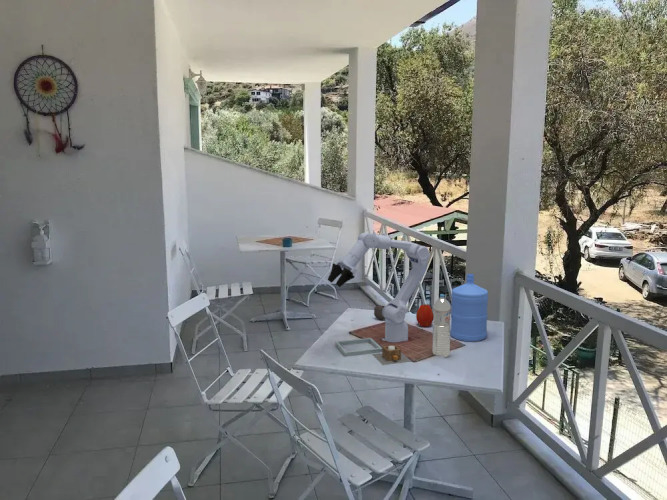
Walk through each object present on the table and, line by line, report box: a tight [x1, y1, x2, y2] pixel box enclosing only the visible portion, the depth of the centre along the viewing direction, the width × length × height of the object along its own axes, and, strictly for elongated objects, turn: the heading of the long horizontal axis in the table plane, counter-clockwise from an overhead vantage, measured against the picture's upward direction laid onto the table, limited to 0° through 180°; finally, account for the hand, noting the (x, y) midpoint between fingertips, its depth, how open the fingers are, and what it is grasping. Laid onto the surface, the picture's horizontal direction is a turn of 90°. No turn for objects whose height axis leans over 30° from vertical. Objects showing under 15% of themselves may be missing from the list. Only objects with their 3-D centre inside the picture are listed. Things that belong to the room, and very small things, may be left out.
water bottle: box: [432, 293, 452, 358], centre depth 214 cm, size 7×7×25 cm
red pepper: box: [415, 303, 434, 328], centre depth 254 cm, size 8×8×11 cm
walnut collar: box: [381, 344, 402, 361], centre depth 210 cm, size 6×8×4 cm
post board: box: [371, 345, 413, 366], centre depth 211 cm, size 12×12×6 cm
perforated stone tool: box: [373, 304, 386, 321], centre depth 263 cm, size 15×5×7 cm, turn 59°
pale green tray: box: [334, 337, 382, 358], centre depth 222 cm, size 16×14×2 cm
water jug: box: [450, 273, 489, 342], centre depth 236 cm, size 16×16×28 cm
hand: (333, 283), depth 217 cm, fingers open, 7 cm apart
